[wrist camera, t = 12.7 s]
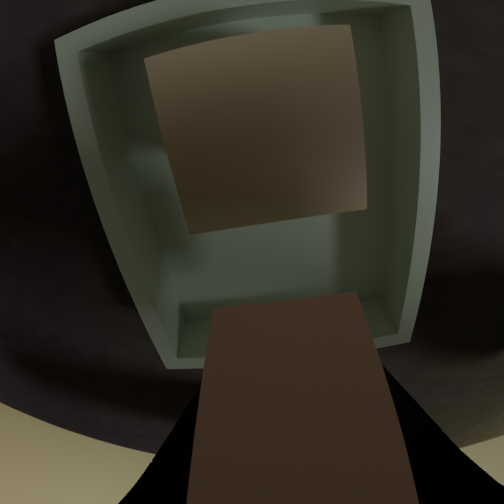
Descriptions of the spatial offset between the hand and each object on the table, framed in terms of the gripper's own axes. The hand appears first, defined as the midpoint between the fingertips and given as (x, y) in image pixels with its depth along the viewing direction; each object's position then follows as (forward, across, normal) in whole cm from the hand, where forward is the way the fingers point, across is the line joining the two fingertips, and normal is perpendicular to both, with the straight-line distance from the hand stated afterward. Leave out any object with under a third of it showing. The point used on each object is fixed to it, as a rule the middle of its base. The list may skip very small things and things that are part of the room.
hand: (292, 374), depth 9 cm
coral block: (+1, 0, 0) cm, 1 cm away
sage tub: (+7, 0, -3) cm, 8 cm away
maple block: (+7, 0, -7) cm, 9 cm away
